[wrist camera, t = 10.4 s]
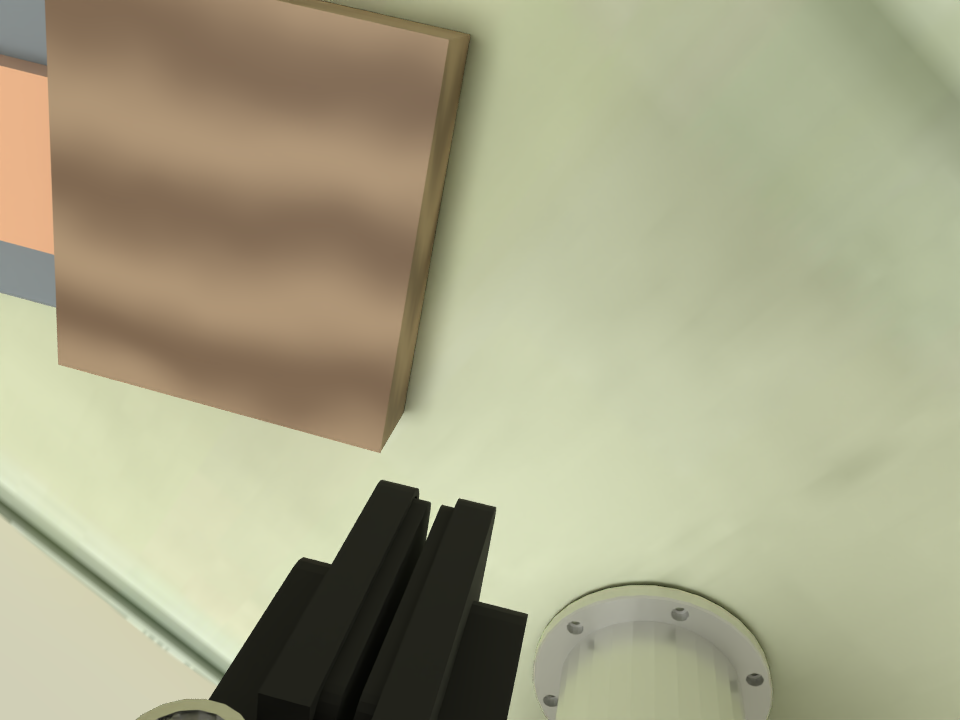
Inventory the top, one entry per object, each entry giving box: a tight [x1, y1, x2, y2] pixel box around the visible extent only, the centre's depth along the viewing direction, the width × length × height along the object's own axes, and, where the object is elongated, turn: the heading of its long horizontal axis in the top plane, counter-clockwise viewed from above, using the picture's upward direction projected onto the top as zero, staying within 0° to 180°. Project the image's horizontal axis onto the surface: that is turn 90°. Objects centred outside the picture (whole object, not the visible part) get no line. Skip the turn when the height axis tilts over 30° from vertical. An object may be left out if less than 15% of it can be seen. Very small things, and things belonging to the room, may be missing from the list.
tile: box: [0, 54, 54, 255], centre depth 37 cm, size 8×8×2 cm
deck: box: [45, 0, 470, 453], centre depth 36 cm, size 18×16×4 cm
